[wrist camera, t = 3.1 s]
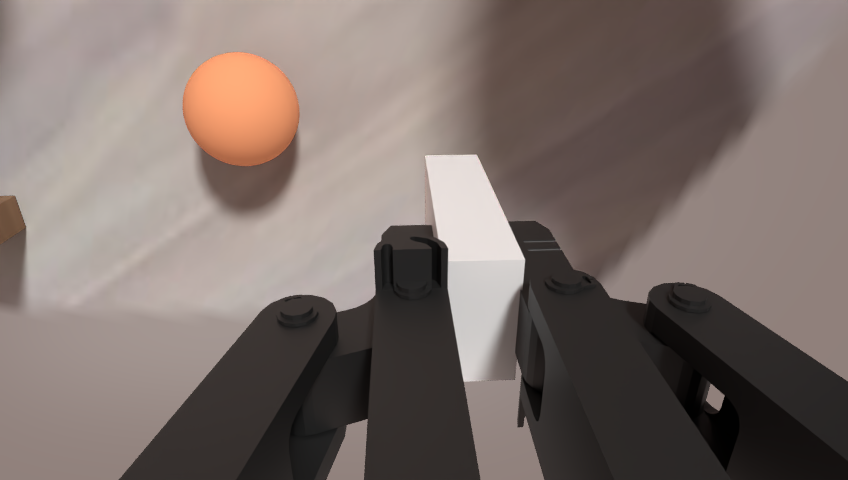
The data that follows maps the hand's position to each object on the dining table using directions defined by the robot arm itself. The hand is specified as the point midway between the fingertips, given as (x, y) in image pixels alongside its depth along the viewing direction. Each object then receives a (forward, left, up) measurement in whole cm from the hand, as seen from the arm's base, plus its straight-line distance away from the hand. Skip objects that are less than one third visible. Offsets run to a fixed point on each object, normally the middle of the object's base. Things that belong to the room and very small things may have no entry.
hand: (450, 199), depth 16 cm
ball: (+9, 0, -13) cm, 16 cm away
